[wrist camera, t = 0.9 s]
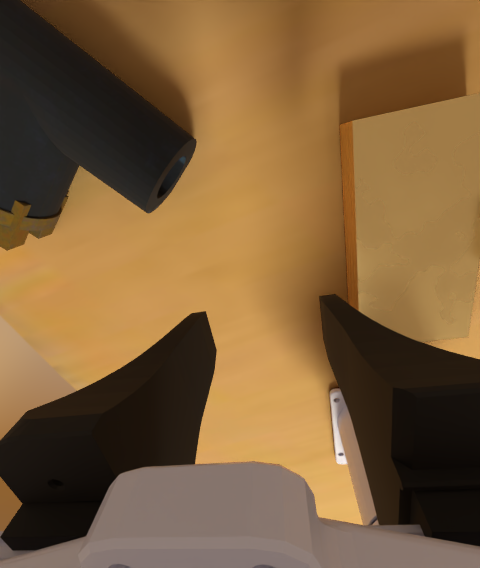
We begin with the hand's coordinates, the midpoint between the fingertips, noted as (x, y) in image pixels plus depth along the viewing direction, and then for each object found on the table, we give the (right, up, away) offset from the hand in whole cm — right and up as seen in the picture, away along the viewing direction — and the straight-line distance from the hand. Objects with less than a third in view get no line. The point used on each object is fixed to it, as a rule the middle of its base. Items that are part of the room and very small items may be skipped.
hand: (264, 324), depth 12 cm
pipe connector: (-13, +11, +7) cm, 18 cm away
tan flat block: (+10, +5, +7) cm, 14 cm away
